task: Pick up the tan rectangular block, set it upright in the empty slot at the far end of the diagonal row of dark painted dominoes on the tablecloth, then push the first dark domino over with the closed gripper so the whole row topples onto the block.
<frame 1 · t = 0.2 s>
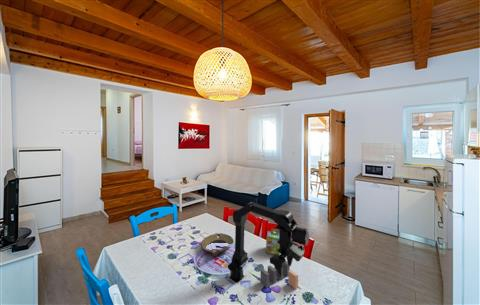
hand: (285, 270, 98), 14 cm above the table, fingers open, 9 cm apart
domino 4: (285, 273, 117), on the table
domino 1: (265, 284, 109), on the table
domino 3: (278, 277, 114), on the table
tan rectangular block: (293, 285, 107), on the table
domino 2: (272, 280, 111), on the table
chalk box: (274, 251, 140), on the table
olive oval ring: (215, 250, 143), on the table
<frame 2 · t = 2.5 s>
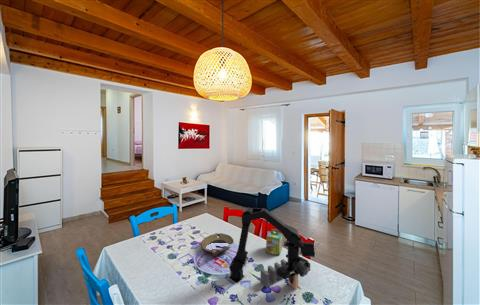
hand: (293, 282, 107), 2 cm above the table, fingers closed on tan rectangular block, 2 cm apart
tan rectangular block: (293, 285, 107), on the table, touching gripper
everything else where it was.
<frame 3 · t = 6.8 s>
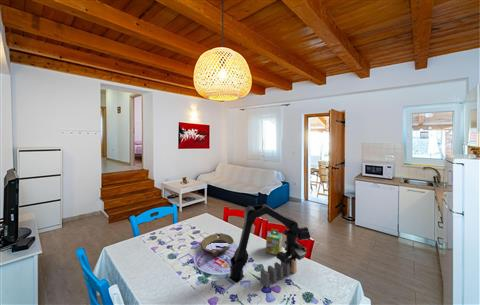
hand: (291, 266, 120), 2 cm above the table, fingers closed
tan rectangular block: (291, 270, 119), on the table
everything else where it was.
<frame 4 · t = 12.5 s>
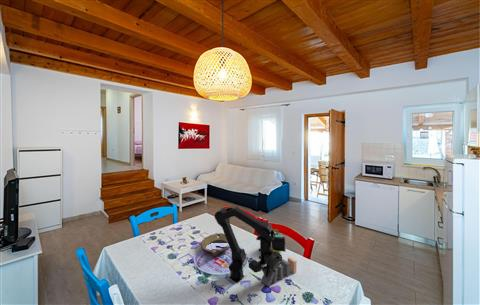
hand: (266, 276, 109), 4 cm above the table, fingers closed
domino 1: (265, 283, 109), on the table, tilted 35°
domino 2: (272, 280, 111), on the table, tilted 9°
everything else where it was.
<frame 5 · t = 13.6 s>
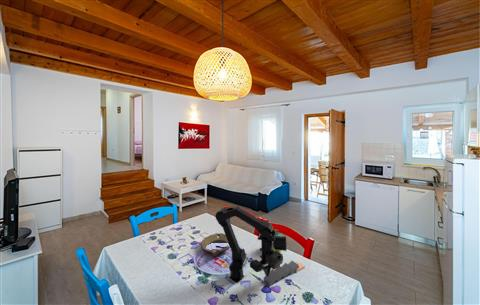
hand: (267, 275, 109), 4 cm above the table, fingers closed
domino 4: (287, 271, 118), point 1 cm above the table, tilted 74°, touching domino 3
domino 1: (267, 281, 109), point 1 cm above the table, tilted 69°
domino 3: (280, 274, 115), point 1 cm above the table, tilted 70°, touching domino 2, domino 4
tan rectangular block: (293, 269, 120), on the table, tilted 90°
domino 2: (274, 277, 112), point 1 cm above the table, tilted 69°, touching domino 3
everything else where it was.
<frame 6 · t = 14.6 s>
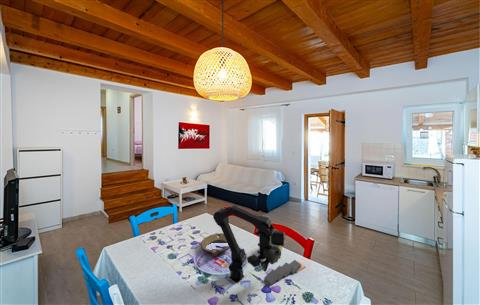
hand: (264, 271, 108), 7 cm above the table, fingers closed
domino 4: (289, 270, 118), point 1 cm above the table, tilted 71°, touching tan rectangular block
domino 1: (267, 281, 109), point 1 cm above the table, tilted 70°, touching domino 2
domino 3: (281, 273, 116), point 1 cm above the table, tilted 71°
tan rectangular block: (294, 269, 120), on the table, tilted 90°, touching domino 4
domino 2: (274, 277, 113), point 1 cm above the table, tilted 70°, touching domino 1
everything else where it was.
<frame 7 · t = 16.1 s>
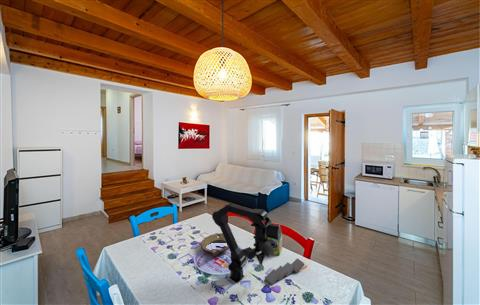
hand: (260, 264, 106), 12 cm above the table, fingers closed
domino 4: (292, 269, 119), point 1 cm above the table, tilted 67°
domino 3: (283, 273, 116), point 1 cm above the table, tilted 73°, touching domino 2
tan rectangular block: (296, 268, 121), on the table, tilted 90°
domino 2: (275, 277, 113), point 1 cm above the table, tilted 72°, touching domino 1, domino 3
at the end: tan rectangular block tilted 90°; tan rectangular block inside the target area (2.3 cm from its centre), on the table; domino 4 tilted 66° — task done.
